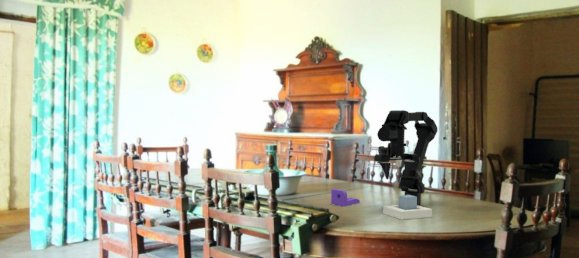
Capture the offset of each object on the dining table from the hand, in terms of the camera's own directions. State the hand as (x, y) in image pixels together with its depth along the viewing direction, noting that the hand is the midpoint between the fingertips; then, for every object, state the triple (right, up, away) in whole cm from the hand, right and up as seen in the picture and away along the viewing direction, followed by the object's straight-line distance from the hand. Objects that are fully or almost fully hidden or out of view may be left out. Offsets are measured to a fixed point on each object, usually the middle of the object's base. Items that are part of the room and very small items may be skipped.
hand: (396, 178), depth 190 cm
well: (+2, -13, -10) cm, 17 cm away
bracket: (-19, -13, +14) cm, 27 cm away
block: (+2, -13, -10) cm, 16 cm away
